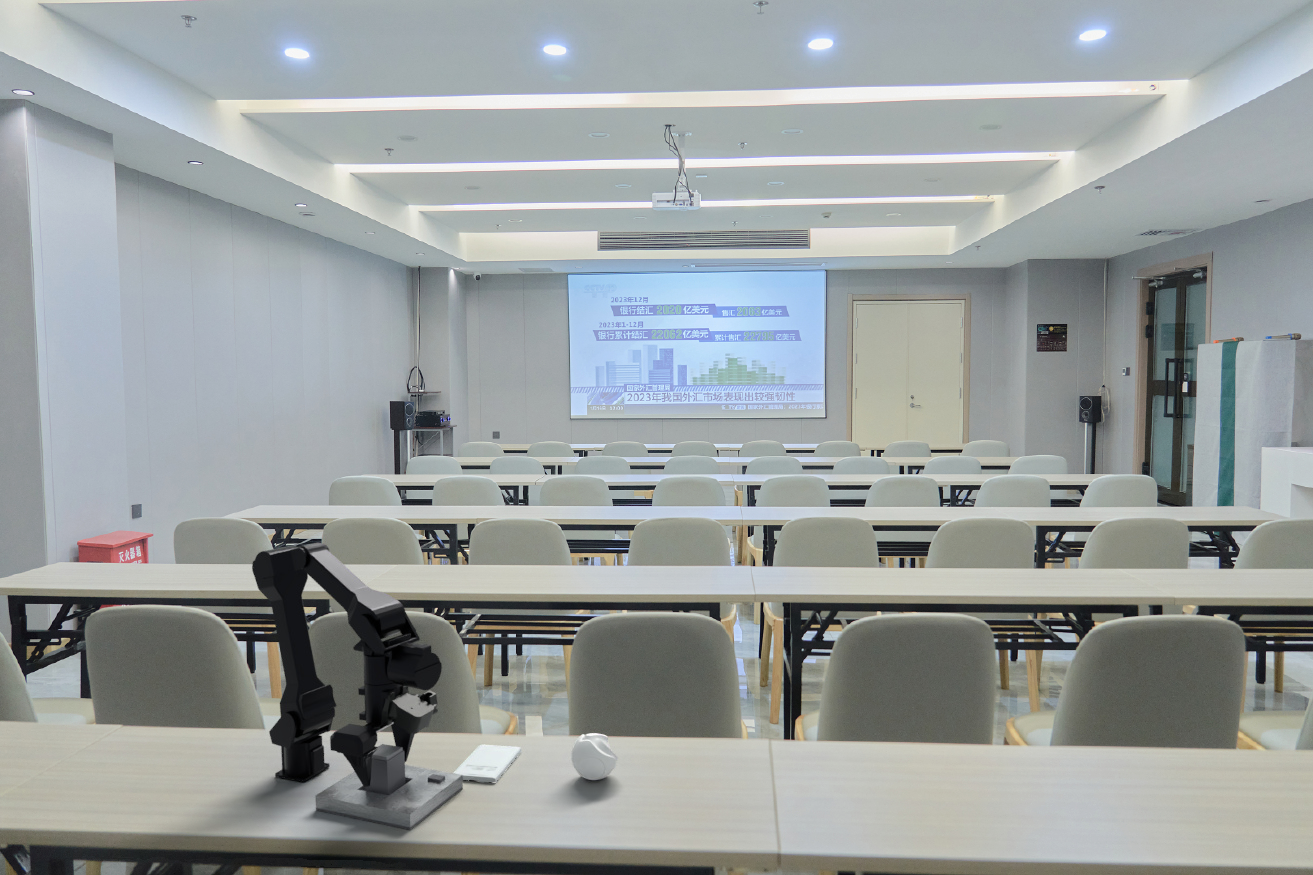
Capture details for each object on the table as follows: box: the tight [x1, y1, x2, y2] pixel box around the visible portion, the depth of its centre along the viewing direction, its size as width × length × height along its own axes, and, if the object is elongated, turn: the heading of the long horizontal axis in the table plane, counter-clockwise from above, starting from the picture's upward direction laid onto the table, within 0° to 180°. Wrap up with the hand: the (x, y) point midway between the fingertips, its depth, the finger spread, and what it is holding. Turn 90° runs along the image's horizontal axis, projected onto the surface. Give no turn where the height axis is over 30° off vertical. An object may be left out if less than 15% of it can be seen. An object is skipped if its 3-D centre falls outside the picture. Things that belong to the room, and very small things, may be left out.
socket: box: [314, 764, 464, 831], centre depth 139 cm, size 18×14×3 cm
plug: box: [365, 743, 406, 796], centre depth 139 cm, size 4×4×8 cm
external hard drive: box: [453, 743, 522, 783], centre depth 151 cm, size 2×8×12 cm
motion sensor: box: [570, 732, 619, 781], centre depth 146 cm, size 8×8×8 cm
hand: (385, 773), depth 139 cm, fingers open, 9 cm apart
